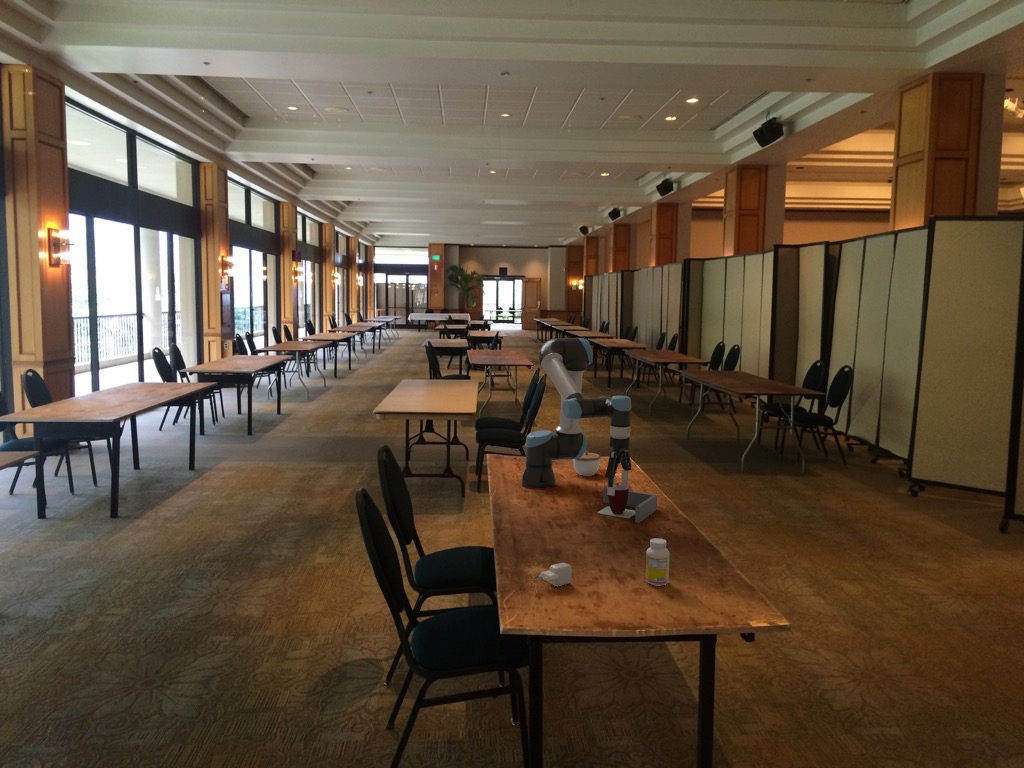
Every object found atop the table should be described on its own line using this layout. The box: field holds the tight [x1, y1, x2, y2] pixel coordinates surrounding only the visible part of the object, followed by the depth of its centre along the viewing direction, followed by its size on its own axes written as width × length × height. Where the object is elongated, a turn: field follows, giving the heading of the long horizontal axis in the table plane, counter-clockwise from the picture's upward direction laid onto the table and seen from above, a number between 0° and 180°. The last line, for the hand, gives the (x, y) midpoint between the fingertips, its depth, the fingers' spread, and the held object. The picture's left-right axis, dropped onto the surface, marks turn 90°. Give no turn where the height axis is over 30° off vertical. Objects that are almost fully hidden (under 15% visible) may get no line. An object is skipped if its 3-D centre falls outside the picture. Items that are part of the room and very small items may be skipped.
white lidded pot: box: [572, 450, 601, 477], centre depth 352 cm, size 13×13×11 cm
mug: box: [608, 484, 630, 514], centre depth 291 cm, size 11×8×10 cm
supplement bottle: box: [645, 537, 671, 585], centre depth 222 cm, size 7×7×13 cm
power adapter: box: [534, 562, 573, 587], centre depth 219 cm, size 11×5×6 cm, turn 122°
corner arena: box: [597, 486, 658, 524], centre depth 293 cm, size 22×20×6 cm
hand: (618, 490), depth 292 cm, fingers open, 13 cm apart
